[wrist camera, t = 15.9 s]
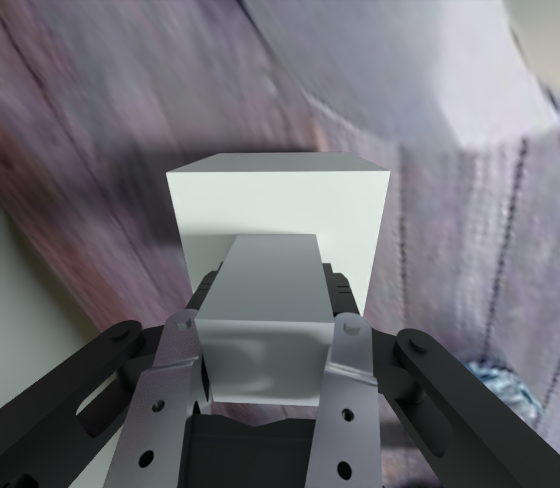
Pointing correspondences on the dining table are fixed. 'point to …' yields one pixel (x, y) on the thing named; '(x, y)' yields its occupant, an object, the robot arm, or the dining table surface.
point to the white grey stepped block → (275, 262)
